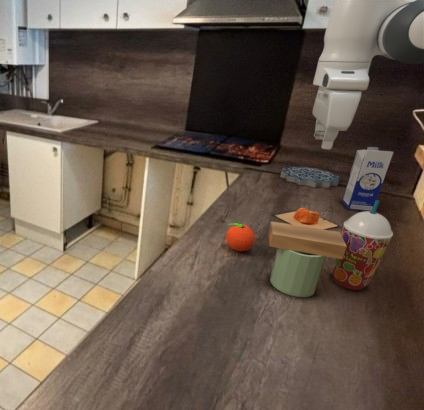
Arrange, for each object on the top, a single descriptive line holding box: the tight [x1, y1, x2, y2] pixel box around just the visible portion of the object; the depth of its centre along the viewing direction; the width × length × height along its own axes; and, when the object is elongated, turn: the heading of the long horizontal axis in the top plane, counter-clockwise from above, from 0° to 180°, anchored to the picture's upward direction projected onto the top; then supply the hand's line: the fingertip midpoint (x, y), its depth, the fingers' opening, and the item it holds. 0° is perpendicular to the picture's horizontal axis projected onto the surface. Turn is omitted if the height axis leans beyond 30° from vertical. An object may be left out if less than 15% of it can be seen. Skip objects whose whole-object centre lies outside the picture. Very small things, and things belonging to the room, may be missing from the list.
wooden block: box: [267, 221, 347, 259], centre depth 75 cm, size 6×13×3 cm, turn 67°
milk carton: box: [341, 146, 395, 212], centre depth 115 cm, size 7×7×20 cm
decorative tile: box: [279, 165, 340, 189], centre depth 143 cm, size 20×20×2 cm
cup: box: [269, 248, 327, 298], centre depth 78 cm, size 9×9×10 cm
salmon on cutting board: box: [274, 207, 339, 230], centre depth 108 cm, size 12×12×4 cm
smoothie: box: [331, 199, 394, 291], centre depth 76 cm, size 8×8×20 cm
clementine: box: [224, 222, 256, 252], centre depth 93 cm, size 8×7×7 cm
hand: (321, 143), depth 79 cm, fingers open, 8 cm apart
